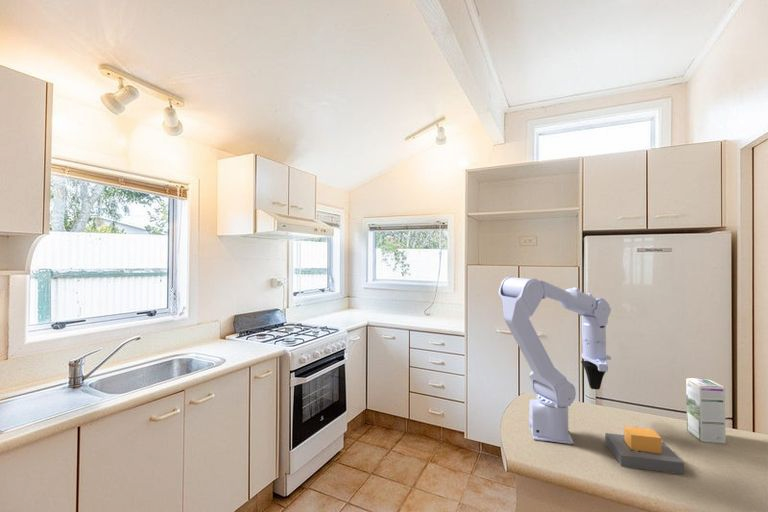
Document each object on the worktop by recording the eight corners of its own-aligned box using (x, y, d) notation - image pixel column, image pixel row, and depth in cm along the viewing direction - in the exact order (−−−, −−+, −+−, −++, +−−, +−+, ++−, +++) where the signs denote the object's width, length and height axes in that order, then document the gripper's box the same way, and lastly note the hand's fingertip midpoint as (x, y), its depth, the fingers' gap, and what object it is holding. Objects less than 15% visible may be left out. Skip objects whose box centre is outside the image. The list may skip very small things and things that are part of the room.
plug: (631, 458, 81) (631, 434, 81) (624, 448, 85) (624, 426, 85) (661, 462, 80) (661, 438, 79) (653, 452, 83) (653, 429, 83)
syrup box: (727, 444, 87) (727, 386, 87) (699, 441, 89) (699, 385, 88) (710, 432, 93) (710, 378, 93) (685, 430, 94) (685, 377, 94)
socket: (621, 466, 79) (621, 452, 79) (605, 442, 89) (605, 430, 89) (683, 474, 76) (683, 460, 76) (660, 448, 86) (660, 436, 86)
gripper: (620, 347, 89) (621, 400, 89) (600, 334, 103) (601, 379, 103) (589, 346, 91) (590, 398, 91) (574, 333, 105) (575, 378, 105)
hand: (594, 388), depth 97 cm, fingers closed
